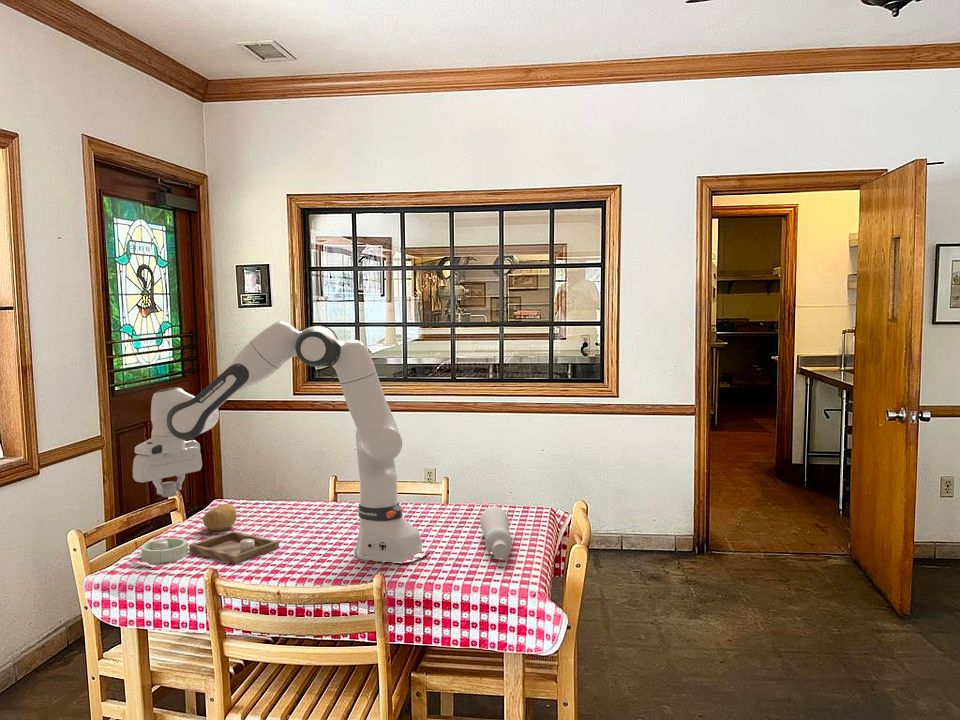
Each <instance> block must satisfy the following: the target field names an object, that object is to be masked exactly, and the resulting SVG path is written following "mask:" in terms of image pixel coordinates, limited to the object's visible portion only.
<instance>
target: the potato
mask: <svg viewBox="0 0 960 720" xmlns="http://www.w3.org/2000/svg"><path fill="white" fill-rule="evenodd" d="M237 517H238V514H237V509H236V506H234V505H233V504H231V503H221V504H220V505H217V506H214V507H213V508H211V509H209V510H208V511H207V512H206V513H205V514H204V516H203V518H202V522H203V525H204V526H205V528H207V529H208V530H211V531H212V532H221V531H225V530H228V529H229V528H231V527H233V525H234V524H235V522H236V520H237Z"/></svg>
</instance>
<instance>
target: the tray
mask: <svg viewBox="0 0 960 720" xmlns="http://www.w3.org/2000/svg"><path fill="white" fill-rule="evenodd" d="M244 539H254V549H251V550H248V551H246V552H243V553H240V541H241V540H244ZM278 549H280V541H278V540H274V539H270V538H265V537H260V536H257V535H252V534H247V533H243V532H238V531H234V530H233V531H230V532H226V533H224V534H221V535H220V534H219V535H218V536H214V537H211V538H208V539H204V540H201V541H198V542H194V543H191V544H189V546H188V553H192V554H196V555H199V556H202V557H203V556H204V557H208V558H212V559H215V560H218V561H219V560H220V561H223V562H227V563H230V564H234V565H237V564H240V563H242V562H245V561H247V560H251V559H253V558H256V557H258V556H261V555H264V554H267V553H270V552H272V551H275V550H278Z"/></svg>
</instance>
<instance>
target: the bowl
mask: <svg viewBox="0 0 960 720" xmlns="http://www.w3.org/2000/svg"><path fill="white" fill-rule="evenodd" d="M159 540H167V541H168V549H164V550H153V542H155V541H159ZM140 553H141V563H142V562H147V563H150V564H164V562H165V563H171V562H175V561H178V560H181V559H184V558H185V557H186V556H188V554H189V546H188V541H187V539H186V538H185V539H184V538H182V537H181V538H180V537H165V538H159V539H154V540H150V541H147V542H145V543H144V544H142V545H141V546H140Z"/></svg>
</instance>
